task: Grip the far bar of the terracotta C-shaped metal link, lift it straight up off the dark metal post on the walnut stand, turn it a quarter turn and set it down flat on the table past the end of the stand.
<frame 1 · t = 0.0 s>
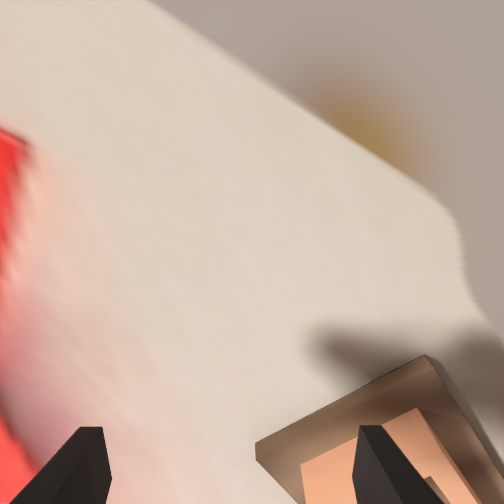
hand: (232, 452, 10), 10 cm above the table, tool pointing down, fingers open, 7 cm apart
c link: (400, 492, 24), point 1 cm above the table, touching stand base
stand base: (393, 475, 25), on the table
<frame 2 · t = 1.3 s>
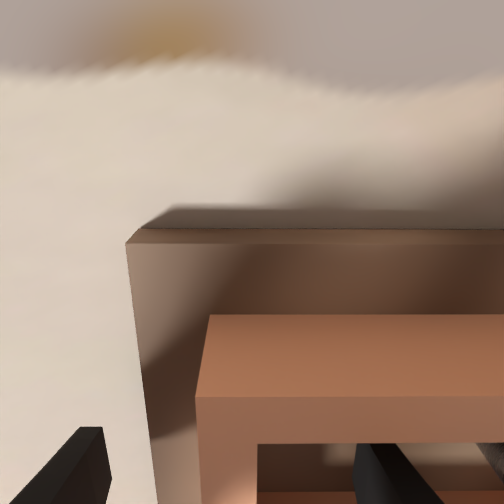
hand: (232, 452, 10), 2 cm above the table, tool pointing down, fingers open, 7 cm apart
c link: (410, 427, 11), point 1 cm above the table, touching stand base
hook post: (500, 427, 11), resting on stand base
stand base: (395, 399, 12), on the table
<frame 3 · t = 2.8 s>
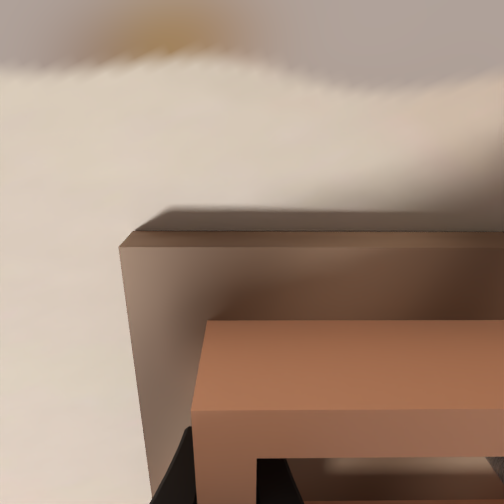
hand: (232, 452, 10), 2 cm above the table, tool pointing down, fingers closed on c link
c link: (414, 436, 11), point 1 cm above the table, touching gripper, stand base
stand base: (398, 405, 12), on the table
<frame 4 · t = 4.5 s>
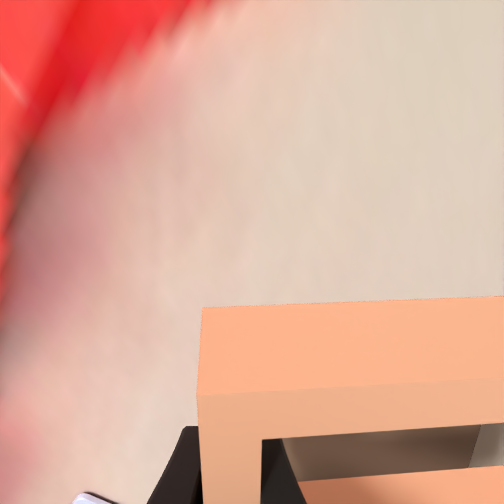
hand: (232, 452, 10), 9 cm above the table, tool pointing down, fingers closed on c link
c link: (403, 411, 11), point 8 cm above the table, touching gripper
stand base: (354, 489, 24), on the table
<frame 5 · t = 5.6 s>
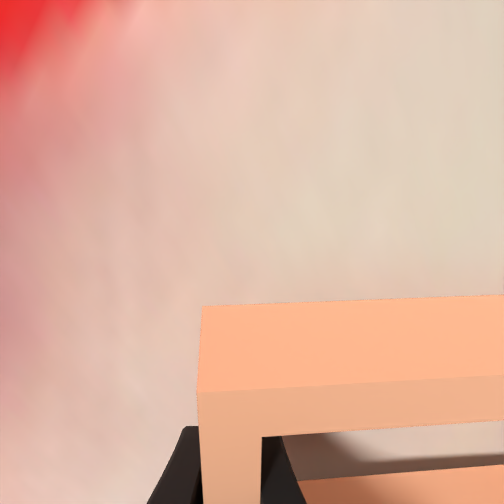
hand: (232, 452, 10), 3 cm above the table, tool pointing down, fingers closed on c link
c link: (403, 410, 11), point 2 cm above the table, touching gripper
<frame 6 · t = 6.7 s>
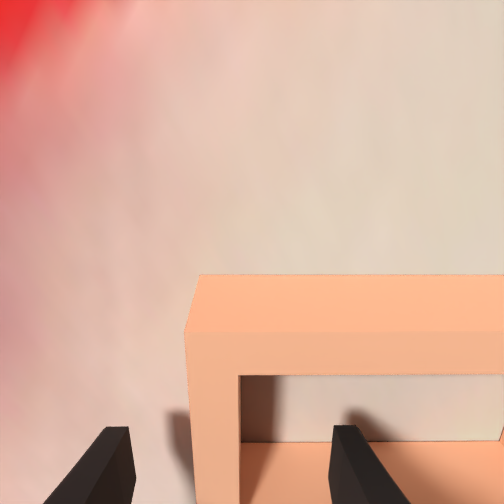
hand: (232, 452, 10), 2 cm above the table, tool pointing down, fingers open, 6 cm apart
c link: (381, 381, 13), on the table
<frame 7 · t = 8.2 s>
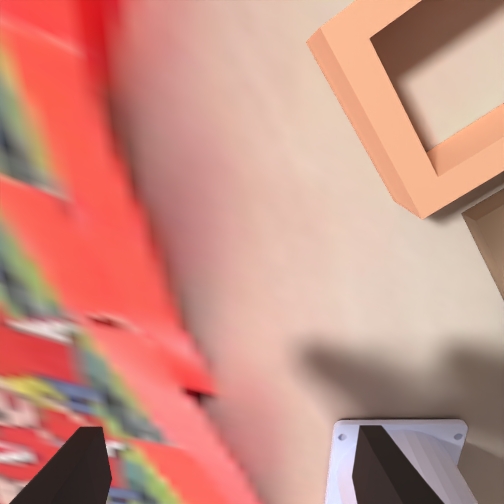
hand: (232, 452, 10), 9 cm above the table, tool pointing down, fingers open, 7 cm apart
c link: (483, 39, 15), on the table
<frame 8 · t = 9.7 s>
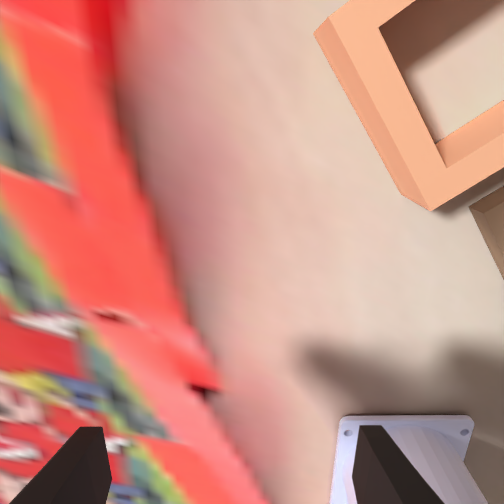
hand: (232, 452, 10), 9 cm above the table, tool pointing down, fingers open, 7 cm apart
c link: (491, 30, 15), on the table
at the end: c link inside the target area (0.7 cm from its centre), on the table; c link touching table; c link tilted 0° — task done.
